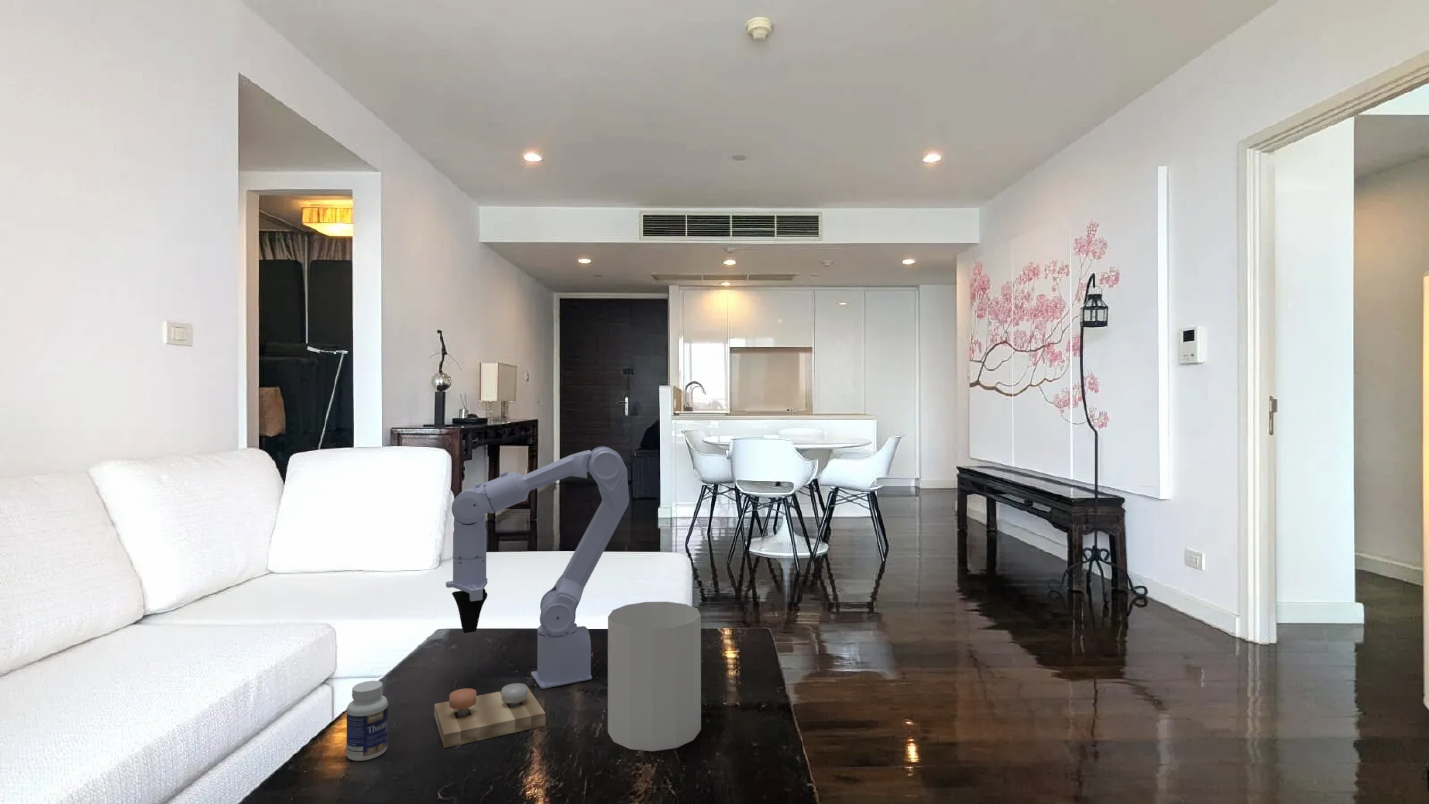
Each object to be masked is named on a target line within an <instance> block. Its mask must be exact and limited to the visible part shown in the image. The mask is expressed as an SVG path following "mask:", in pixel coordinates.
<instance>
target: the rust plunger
mask: <svg viewBox="0 0 1429 804" xmlns="http://www.w3.org/2000/svg"><path fill="white" fill-rule="evenodd" d="M448 696H449V698H448V699H449V700H448V701H449V706H450V708H452V709H458V718H460V717H465V716H468V708H469V707H472V706H473V705H475V704H476V696H477V690H476V689H473V688H471V687H470V688H465V687H464V688H460V689H459V688H458V689H455V690H453V691H452V692H450V693H449V695H448Z"/></svg>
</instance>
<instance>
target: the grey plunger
mask: <svg viewBox="0 0 1429 804" xmlns="http://www.w3.org/2000/svg"><path fill="white" fill-rule="evenodd" d="M527 687H528V686H527V684H525V683H519V682H518V683H517V682H515V683H510V684H509V683H508V684H506V685H504V686H503V687H502V688H501V691H502V701H503V702H505V703H510V707H514V706H519V702H521V701H523V700H525V699H526V698H527Z"/></svg>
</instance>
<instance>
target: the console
mask: <svg viewBox="0 0 1429 804" xmlns="http://www.w3.org/2000/svg"><path fill="white" fill-rule="evenodd" d="M433 707H434V714H433V715H434V720H435V723H436V725H437V729H438V732H439V736H440V739H441V742H442V745H443V748H444V749H446V748H451V747H456V746H460V745H465V744H468V743H469V744H470V743H474V742H478V741H483V740H487V739H492V738H495V737H501V736H505V735H509V734H510V735H511V734H514V733H519V732H524V731H527V730H533V729H537V728H542V727H545V726H546V712H545V711H544V709H543V707H542V706H541V704H540V703H539V702H538V700H537V698H536V696H534V694H533V693H532V691H531V690H530V688H529V687H528V686H527V698H526V699H525V700H523V701H521V702H519V706H514V707H510V703H505V702H503V701H502V690H500V691H495V692H491V693H490V692H489V693H485V694H480V695H476V704H475V705H473V706H472V707H469V708H468V716H465V717H460V718H458V709H452V708H450V706H449V700H448V701H443V702H438V703H437V702H436V703H434V706H433Z"/></svg>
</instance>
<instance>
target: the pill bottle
mask: <svg viewBox="0 0 1429 804" xmlns="http://www.w3.org/2000/svg"><path fill="white" fill-rule="evenodd" d="M383 687H384V684H383V682H382V681H380V680H368V681H367V680H366V681H362V682H360V683H357V684H355V685H354V686H353V687H352V690H351V693H352V694H351V697H352V700H351V701H350V702H349V703H348V705H347V707H346V746H345V747H346V749H345V750H346V757H347V758H348V759H349V760H352V761H357V762H359V761H360V762H361V761H369V760H372V759H375V758H377V757H380V756H381V755H383V754H384V753H385V752H386V751H387V750H388V740H389V738H388V737H389V736H388V733H389V731H388V730H389V727H388V726H389V720H388V719H389V715H388V713H389V701H388V698H387V697H386V696H384V695H383V693H384V688H383Z"/></svg>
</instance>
